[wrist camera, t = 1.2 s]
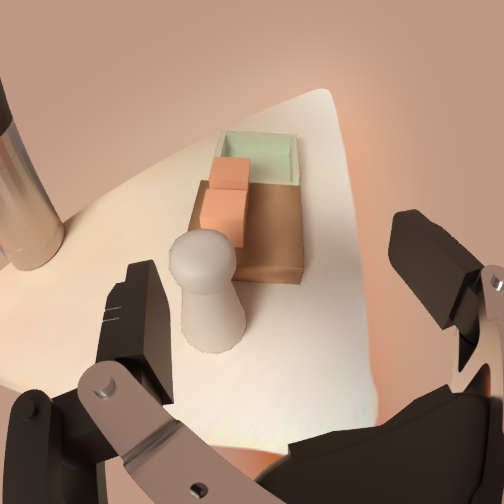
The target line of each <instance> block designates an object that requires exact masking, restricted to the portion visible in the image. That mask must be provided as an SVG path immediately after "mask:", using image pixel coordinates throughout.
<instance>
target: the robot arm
mask: <svg viewBox="0 0 504 504" xmlns="http://www.w3.org/2000/svg"><path fill="white" fill-rule="evenodd" d="M63 238H64V226H63V224H62V222H61V220H60V218H59V216H58V215H57V213H56V211H55V209H54V207H53V205H52V203H51V201H50V199H49V197H48V195H47V193H46V192H45V189H44V187H43V185H42V183H41V181H40V179H39V177H38V175H37V173H36V171H35V169H34V166H33V165H32V162H31V160H30V158H29V155H28V153H27V151H26V149H25V146H24V144H23V142H22V139H21V137H20V135H19V132H18V130H17V127H16V125H15V122H14V120H13V117H12V114H11V111H10V109H9V106H8V103H7V100H6V96H5V92H4V89H3V86H2V82H1V79H0V250H1V252H2V253H3V254H4V256H5V257H6V258H7V259H9V260H10V261H11V263H12V264H13V265H14V266H15V267H16V268H17V269H19V270H24V271H27V270H33V269H36V268H38V267H40V266H42V265H43V264H45V263H46V262H47V261H49V260H50V259H51V258H52V257H53V256H54V254H55V253H56V252H57V251H58V249H59V247H60V245H61V243H62V241H63ZM388 256H389V260H390V263H391V265H392V267H393V268H394V269H395V270H396V271H397V273H398V274H399V275H400V276H401V278H402V279H403V280H404V281H405V283H406V284H407V285H408V286H409V287H410V289H411V290H412V291H413V293H414V294H415V295H416V296H417V297H418V299H419V300H420V301H421V303H422V304H423V305H424V306H425V308H426V309H427V310H428V312H429V313H430V314H431V316H432V317H433V318H434V320H435V321H436V322H437V324H438V325H439V326H440V328H441V329H442V330H444V329H446V328H449V327H451V326H453V325H455V326H456V327H457V329H456V331H455V334H454V355H453V373H452V381H451V385H450V388H449V386H448V385H447V384H446V385H444V386H442V387H440V388H438V389H436V390H434V391H432V392H430V393H428V394H426V395H424V396H422V397H419V398H417V399H415V400H414V401H413V402H411V403H410V404H409V405H408V406H406V407H405V408H404V409H403V410H401V411H400V412H399V413H398V414H396V415H395V416H394V417H392V418H391V419H390V420H388V421H387V422H386V423H384V424H383V425H380V426H376V427H368V428H360V429H351V430H341V431H332V432H329V433H326V434H323V435H320V436H316V437H313V438H309V439H306V440H302V441H298V442H295V443H291V444H288V454H287V455H285V456H284V457H282V458H280V459H278V460H277V461H275V462H274V463H272V464H271V465H269V466H268V467H267V468H266V469H265V470H263V471H262V472H261V473H260V474H259V475H258V476H257V477H256V478H255V479H254V480H251V479H250V478H249V477H247V476H246V475H245V474H243V473H242V472H241V471H240V470H238V469H237V468H236V467H234V466H233V465H232V464H230V463H229V462H228V461H227V460H225V459H224V458H223V457H222V456H221V455H219V454H218V453H217V452H216V451H214V450H213V449H212V448H211V447H210V446H209V445H207V444H206V443H205V442H204V441H203V440H202V439H201V438H199V437H198V436H197V435H196V434H195V433H194V432H193V431H191V430H190V429H189V428H188V427H187V426H186V425H185V424H183V423H182V422H181V421H179V420H176V419H174V418H173V417H172V416H171V415H170V414H169V413H168V412H167V411H166V410H165V409H164V408H163V405H167V404H174V398H173V381H172V360H171V327H170V309H169V304H168V300H167V297H166V294H165V291H164V288H163V286H162V283H161V280H160V277H159V274H158V272H157V269H156V266H155V263H154V261H153V260H147V261H142V262H137V263H132V264H129V265H128V268H127V274H126V279H125V282H121V283H116V284H115V286H114V287H113V289H112V290H111V292H110V293H109V295H108V297H107V301H106V306H105V312H104V316H103V323H102V327H101V332H100V338H99V344H98V350H97V356H96V362H95V364H94V365H93V366H91V367H90V368H88V369H87V370H86V371H85V372H84V373H83V375H82V376H81V378H80V380H79V383H78V388H76V389H74V390H72V391H69V392H67V393H64V394H62V395H59V396H57V397H54V398H52V399H50V398H49V397H48V396H47V395H46V394H45V393H44V392H43V391H41V390H37V389H33V390H29V391H26V392H24V393H23V394H21V395H20V396H19V397H18V398H17V400H16V401H15V402H14V404H13V406H12V409H11V413H10V419H9V426H8V433H7V442H6V450H5V460H4V473H3V504H108V500H107V489H106V476H105V461H106V460H109V459H111V458H114V457H117V456H120V457H121V458H122V459H123V461H124V464H123V465H124V467H125V469H126V471H127V472H128V474H129V475H130V476H131V477H132V478H133V480H134V481H135V482H136V483H137V484H138V485H139V487H140V488H141V489H142V490H143V491H144V492H145V493H146V494H147V495H148V497H149V498H150V499H151V500H152V501H153V502H154V503H155V504H504V268H502V267H499V266H495V265H489V266H486V267H484V266H483V265H482V264H481V263H480V262H479V261H478V260H477V259H476V258H475V257H474V256H473V255H472V254H471V253H470V252H469V251H468V250H467V249H466V248H465V247H463V246H462V245H461V244H459V242H458V241H457V240H456V239H455V238H454V237H451V235H450V234H449V233H448V232H447V231H446V230H444V229H443V228H442V227H441V226H439V225H437V224H435V223H433V222H431V221H430V220H429V219H427V218H426V217H425V216H424V215H423V214H422V213H420V212H419V211H418V210H416V209H413V210H407V211H402V212H397V213H396V214H395V215H394V217H393V223H392V230H391V236H390V243H389V248H388Z"/></svg>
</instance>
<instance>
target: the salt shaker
mask: <svg viewBox="0 0 504 504" xmlns="http://www.w3.org/2000/svg"><path fill="white" fill-rule="evenodd" d="M236 263H237V262H236V255H235V250H234V246H233V244H232V243H231V241H230V240H229V239H228V237H227V236H226V235H225V234H222V233H220V232H218V231H216V230H214V229H203V228H199V229H196V230H192V231H189V232H186V233H185V234H183V235H182V236H180V237H179V238H178V239H176V240H175V242H174V244H173V245H172V247H171V249H170V253H169V269H170V271H171V274H172V275H173V277H174V279H175V280H176V282H177V284H178V285H179V286H180V287H182V314H181V331H182V333H183V335H184V336H185V338H186V340H187V341H188V343H189V344H190V345H192V346H193V347H195V348H196V349H198V350H199V351H201V352H204V353H213V354H218V353H222V352H225V351H228V350H231V349H232V348H233V347H234V346H235V345H236V344H237V343H238V342H240V341H241V339H242V336H243V334H244V331H245V328H246V326H247V325H246V318H245V312H244V309H243V307H242V305H241V302H240V300H239V298H238V296H237V293H236V291H235V289H234V286H233V284H232V282H231V279H232V277H233V275H234V272H235V270H236Z"/></svg>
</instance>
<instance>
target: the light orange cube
mask: <svg viewBox="0 0 504 504" xmlns="http://www.w3.org/2000/svg"><path fill="white" fill-rule="evenodd" d="M246 199H247V191H243V190H222V189H206V193H205V197H204V201H203V205H202V209H201V214H200V225H201V228H203V229H214V230H216V231H218V232H220V233H222V234H225V235H226V236H227V237H228V239H229V240H230V241H231V243H232V244H233V246H234V247H240V248H243V245H244V235H245V226H246Z"/></svg>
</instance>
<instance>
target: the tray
mask: <svg viewBox="0 0 504 504" xmlns="http://www.w3.org/2000/svg"><path fill="white" fill-rule="evenodd" d="M215 157H232V158H250V183H266V184H281V185H294V186H299V177H300V174H299V161H298V148H297V137H296V135H287V134H273V133H257V132H234V131H221V133H220V137H219V140H218V144H217V148H216V152H215V155H214V158H215ZM213 161H214V159H213ZM212 165H213V163H212ZM211 169H212V167H211ZM210 172H211V170H210Z"/></svg>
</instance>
